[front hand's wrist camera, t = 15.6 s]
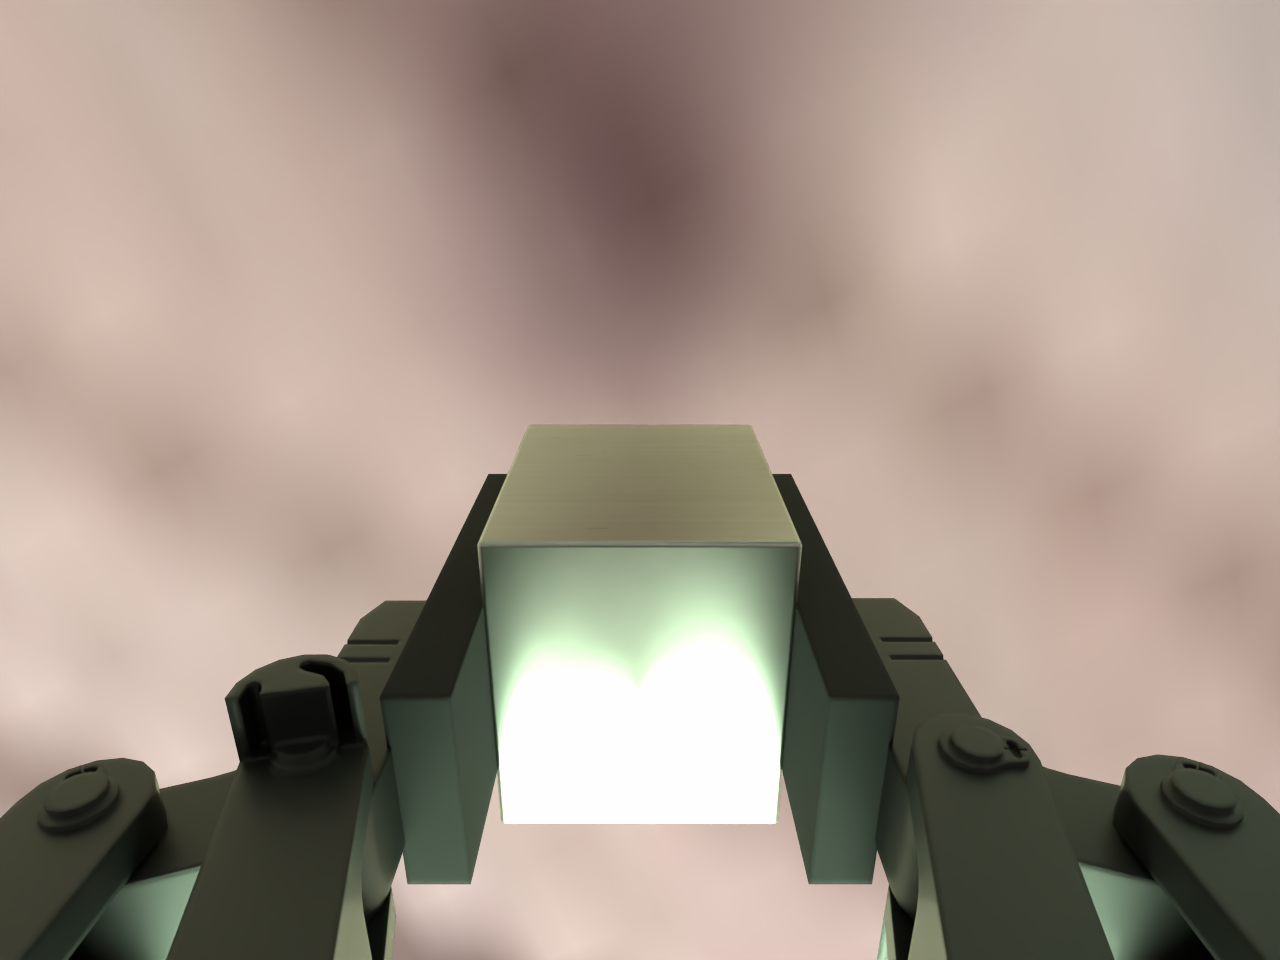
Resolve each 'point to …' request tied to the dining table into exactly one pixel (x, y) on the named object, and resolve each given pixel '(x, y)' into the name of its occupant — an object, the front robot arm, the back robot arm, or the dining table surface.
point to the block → (639, 626)
